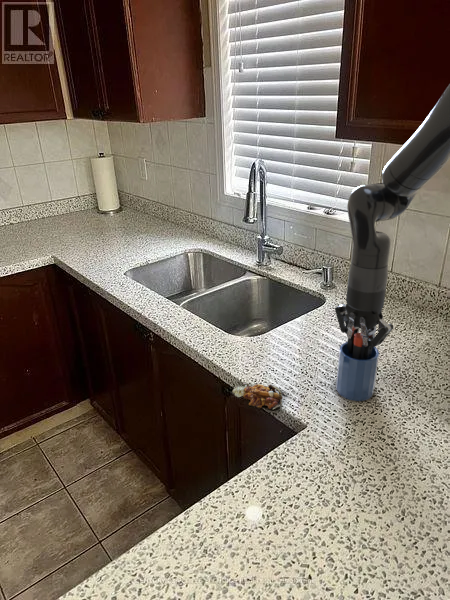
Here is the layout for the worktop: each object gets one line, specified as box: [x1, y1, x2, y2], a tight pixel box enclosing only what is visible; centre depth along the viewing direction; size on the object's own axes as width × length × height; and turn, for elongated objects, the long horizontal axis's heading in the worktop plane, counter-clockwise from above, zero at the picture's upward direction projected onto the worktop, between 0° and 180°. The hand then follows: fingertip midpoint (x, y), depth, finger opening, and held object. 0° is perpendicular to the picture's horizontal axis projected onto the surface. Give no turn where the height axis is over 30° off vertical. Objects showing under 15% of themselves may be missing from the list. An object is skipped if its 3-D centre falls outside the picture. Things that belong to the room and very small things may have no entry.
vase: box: [335, 341, 380, 402], centre depth 100 cm, size 8×8×11 cm
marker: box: [352, 332, 363, 360], centre depth 98 cm, size 3×3×11 cm
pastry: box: [232, 382, 287, 410], centre depth 100 cm, size 7×12×4 cm, turn 68°
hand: (358, 354), depth 98 cm, fingers closed on marker, 2 cm apart
